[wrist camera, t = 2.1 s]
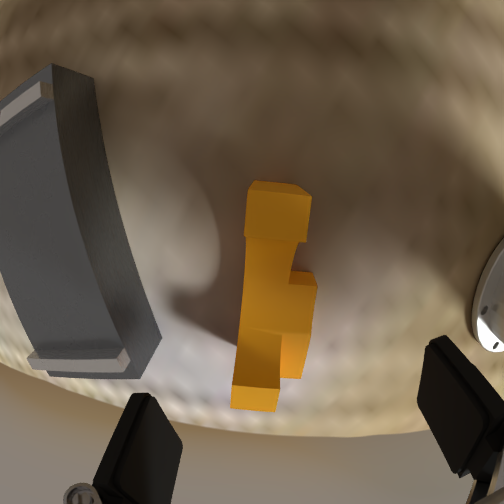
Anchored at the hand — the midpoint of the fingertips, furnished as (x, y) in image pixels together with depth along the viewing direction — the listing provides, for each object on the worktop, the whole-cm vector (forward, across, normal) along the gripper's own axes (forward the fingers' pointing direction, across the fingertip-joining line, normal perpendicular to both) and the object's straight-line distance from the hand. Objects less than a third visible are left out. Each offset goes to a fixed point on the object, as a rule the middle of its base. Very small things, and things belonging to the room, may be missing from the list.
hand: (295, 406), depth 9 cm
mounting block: (+12, +14, -7) cm, 19 cm away
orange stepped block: (+12, 0, 0) cm, 12 cm away
